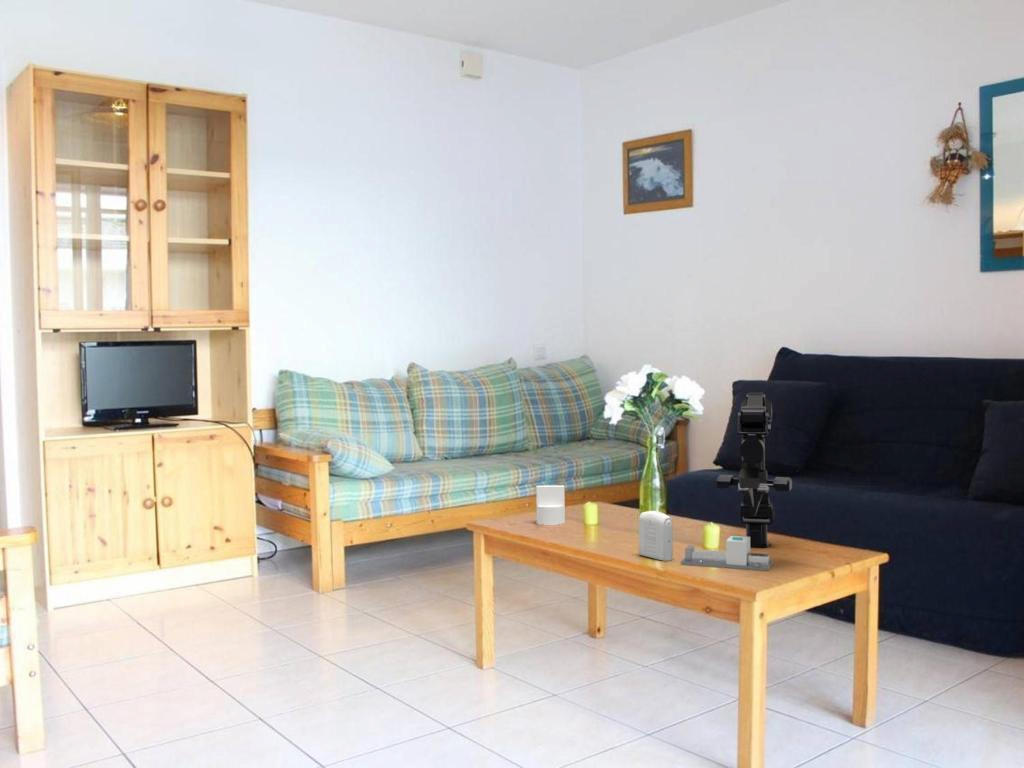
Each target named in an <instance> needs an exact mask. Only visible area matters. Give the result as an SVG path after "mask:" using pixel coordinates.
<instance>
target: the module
mask: <svg viewBox="0 0 1024 768" xmlns="http://www.w3.org/2000/svg"><path fill="white" fill-rule="evenodd" d="M725 551H726V564H729V565H743V566H746V565H747V554H748V553H751V546H750V537H746V535H743V536H741V535H730V536H729V537H728V538H727V539H726V541H725Z"/></svg>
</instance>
